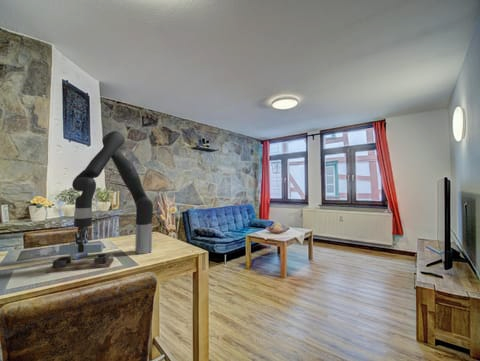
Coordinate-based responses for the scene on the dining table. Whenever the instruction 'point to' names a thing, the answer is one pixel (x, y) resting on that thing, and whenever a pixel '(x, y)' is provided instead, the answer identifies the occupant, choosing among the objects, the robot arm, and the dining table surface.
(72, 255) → the medicine box
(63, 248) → the grey long block
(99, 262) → the endcap board
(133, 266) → the dining table surface
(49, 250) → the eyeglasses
